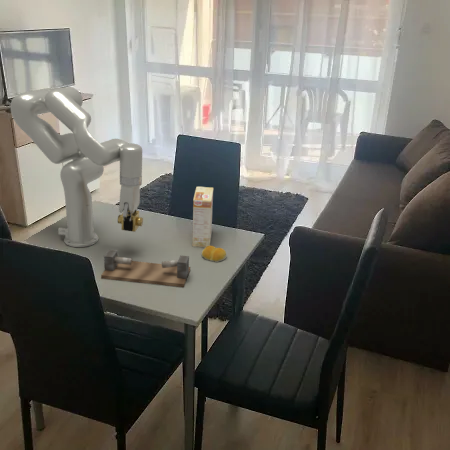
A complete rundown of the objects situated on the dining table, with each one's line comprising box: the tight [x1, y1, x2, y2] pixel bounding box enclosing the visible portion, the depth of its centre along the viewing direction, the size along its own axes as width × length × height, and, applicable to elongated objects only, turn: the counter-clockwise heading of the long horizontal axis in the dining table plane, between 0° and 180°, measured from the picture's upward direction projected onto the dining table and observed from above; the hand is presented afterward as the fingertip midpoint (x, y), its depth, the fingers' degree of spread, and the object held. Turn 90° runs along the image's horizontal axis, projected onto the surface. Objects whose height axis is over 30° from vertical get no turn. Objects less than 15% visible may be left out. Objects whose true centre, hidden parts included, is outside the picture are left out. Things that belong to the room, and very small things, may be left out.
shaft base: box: [100, 249, 191, 288], centre depth 169 cm, size 28×12×7 cm, turn 83°
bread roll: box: [201, 245, 227, 263], centre depth 184 cm, size 8×9×4 cm
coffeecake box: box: [191, 186, 214, 248], centre depth 195 cm, size 15×7×20 cm, turn 178°
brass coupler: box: [117, 210, 144, 233], centre depth 179 cm, size 8×5×6 cm, turn 83°
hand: (130, 226), depth 180 cm, fingers closed on brass coupler, 5 cm apart
